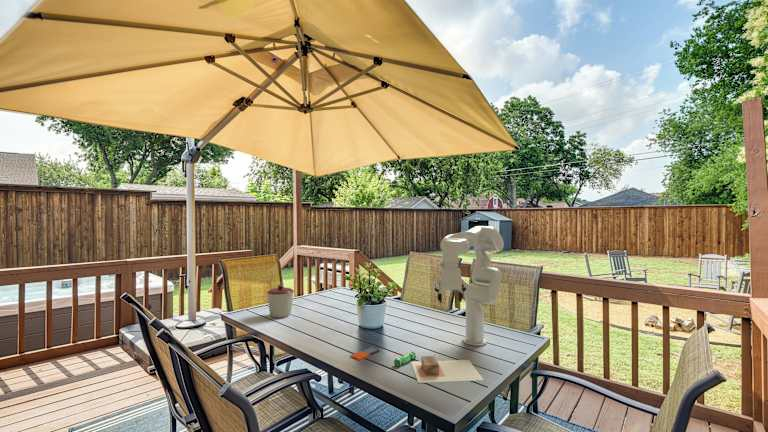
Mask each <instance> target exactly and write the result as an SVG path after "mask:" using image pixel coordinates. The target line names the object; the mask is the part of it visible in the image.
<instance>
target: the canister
mask: <svg viewBox="0 0 768 432" xmlns="http://www.w3.org/2000/svg"><path fill="white" fill-rule="evenodd" d="M265 293H266V295H267V302H268V310H269V315H270V316H271V317H272V318H275V319H276V318H277V319H282V318H287V317H289V316H290V315H291V313H292V309H293V308H292V307H293V299H294V293H295V289H293V288H290V287H284V285H283V284H278V285H277V287H275V288H274V287H273V288H271V289H269V290H268V291H266V292H265Z"/></svg>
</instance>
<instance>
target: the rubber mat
mask: <svg viewBox="0 0 768 432" xmlns="http://www.w3.org/2000/svg"><path fill="white" fill-rule="evenodd" d="M437 362H438V364H439V375H429V376H425V374H424V371H423V369H422V367H421V360H420V361H419V360H417V361H410V365H411V367H412V370H413V372H414V375H415V377H416V380H417V383H418V384H427V383H446V382H447V383H448V382H470V381H472V382H474V381H475V382H476V381H485V379H484V378H483V376H482V375H481V374H480V373H479V371H478V370H477V369H476V367H475V366H474V365H473V364H472V362H471V361H470V360H469V359H452V360H451V359H450V360H437Z"/></svg>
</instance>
